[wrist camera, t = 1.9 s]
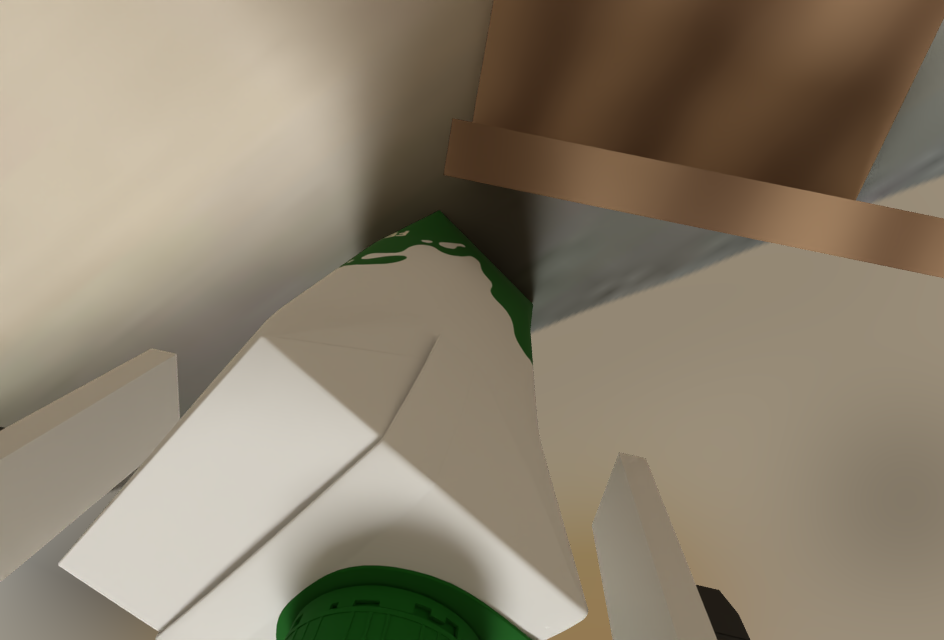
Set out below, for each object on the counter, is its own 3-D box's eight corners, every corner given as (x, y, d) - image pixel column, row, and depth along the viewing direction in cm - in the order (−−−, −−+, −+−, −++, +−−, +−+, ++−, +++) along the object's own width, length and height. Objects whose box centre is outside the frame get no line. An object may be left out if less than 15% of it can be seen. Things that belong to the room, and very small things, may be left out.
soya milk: (446, 399, 28) (308, 912, 9) (331, 295, 26) (-124, 669, 8) (557, 304, 25) (677, 759, 7) (437, 181, 23) (134, 324, 5)
